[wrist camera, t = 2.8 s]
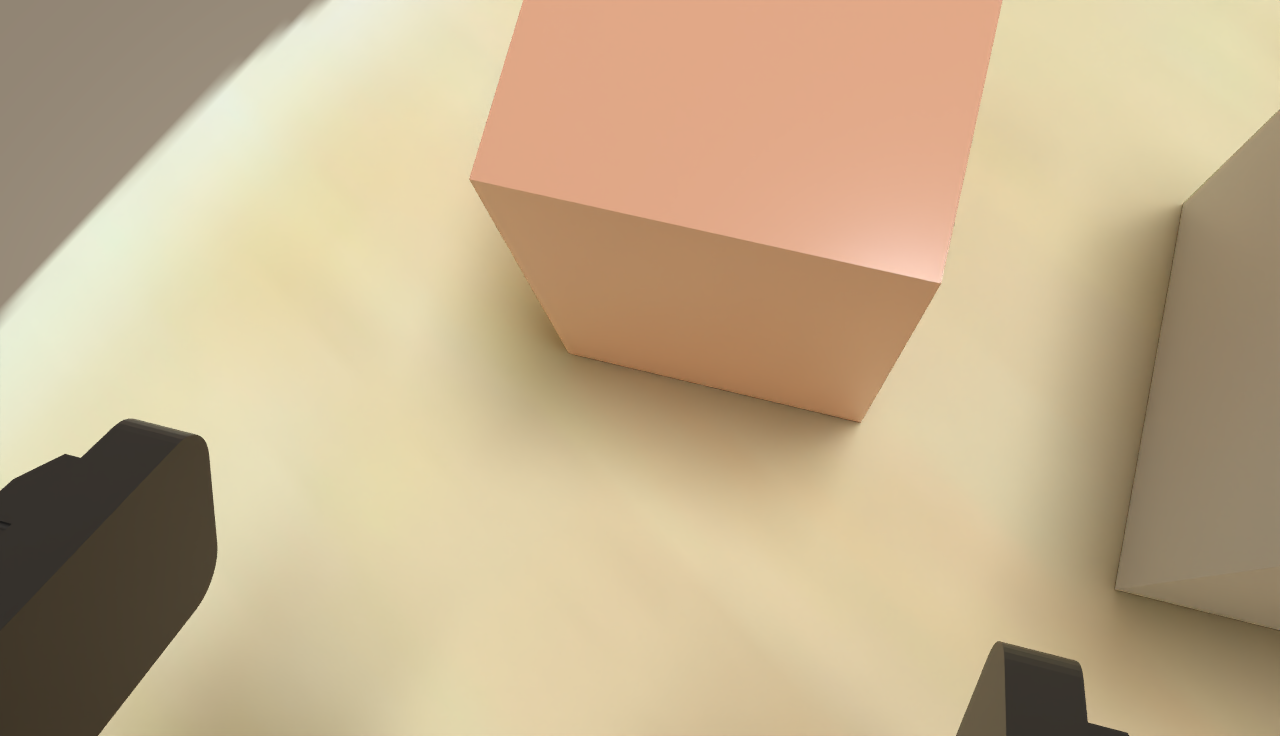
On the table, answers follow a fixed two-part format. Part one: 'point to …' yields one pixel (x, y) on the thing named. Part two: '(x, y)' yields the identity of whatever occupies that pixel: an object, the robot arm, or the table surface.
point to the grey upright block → (1216, 405)
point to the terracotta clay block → (737, 181)
